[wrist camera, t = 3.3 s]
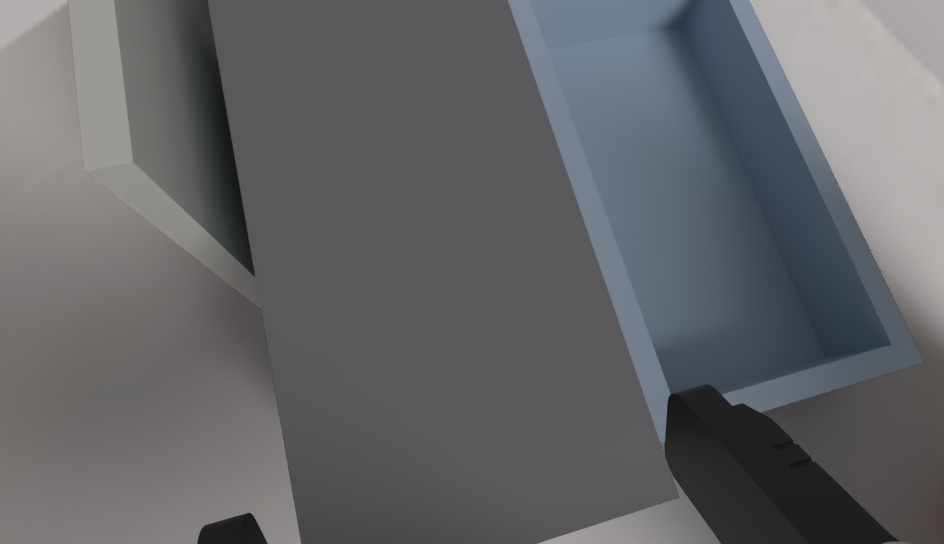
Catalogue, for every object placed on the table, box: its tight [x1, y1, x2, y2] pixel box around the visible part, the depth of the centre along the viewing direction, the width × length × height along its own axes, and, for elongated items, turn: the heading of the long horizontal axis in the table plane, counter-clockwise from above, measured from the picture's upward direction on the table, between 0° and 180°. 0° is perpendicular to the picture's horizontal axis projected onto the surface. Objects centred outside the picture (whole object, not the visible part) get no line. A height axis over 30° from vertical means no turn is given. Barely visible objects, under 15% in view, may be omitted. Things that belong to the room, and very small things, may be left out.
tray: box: [508, 0, 925, 443], centre depth 20 cm, size 9×17×4 cm, turn 15°
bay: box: [68, 0, 261, 309], centre depth 15 cm, size 8×9×13 cm
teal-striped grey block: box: [208, 0, 679, 544], centre depth 14 cm, size 5×12×12 cm, turn 15°
